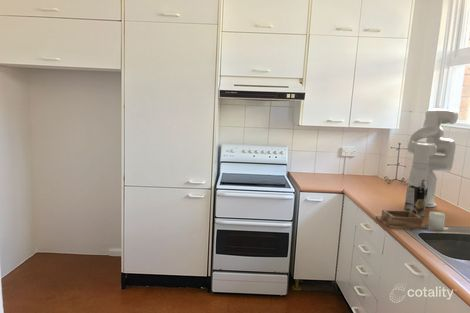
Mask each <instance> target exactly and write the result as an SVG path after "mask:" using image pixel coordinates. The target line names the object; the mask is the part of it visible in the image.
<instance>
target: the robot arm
mask: <svg viewBox="0 0 470 313" xmlns="http://www.w3.org/2000/svg"><path fill="white" fill-rule="evenodd" d="M458 119H459V112H458V111H457V109H446V108H445V109H444V108H442V109H441V108H431V109H430V108H429V109H427V110H426V112H425V119H424V122H423V126H422V127H421V128H419V129H418V130H416V131H415V132H414V133H413V134H412V135H411V136H410V138H409V141H408V144H407V152H408V153H409V154H411V155H412V156H413V157H412V165H411V166H412V167H411V169H410V173H409V177H408V184H409V185H408V186H415V187H419V192H418V199H424V195H425V192H426V190H427V188H428V191H427V198H426V206H425V208H426V207H427V208H435V207H436V206H437V203H436V202H435V195H436V187H437V186H436V185H437V179H438V178H437V174H436V173H435V172H434V171H437V172H443V173H444V172H445V173H446V172H447V173H448V172H450V171H451V170H452V168H453V165H454V158H455V154H456V153H455V152H456V142H455V140H453V139H452V138H443V137H444V131H445V130H444V129H443V128H442V126H441V125H454V124H456V123H457V122H458ZM423 139H426V141H420V140H423ZM421 188H422V189H421Z"/></svg>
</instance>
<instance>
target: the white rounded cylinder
mask: <svg viewBox="0 0 470 313" xmlns="http://www.w3.org/2000/svg"><path fill="white" fill-rule="evenodd" d="M428 212H429V214H428V220H427V227H429V226H430V227H429V228H431V227H432V228H431V229H434V230H444V229H445V221H446V214H445V213H443V212H439V211H428ZM443 228H444V229H443Z"/></svg>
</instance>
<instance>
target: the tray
mask: <svg viewBox="0 0 470 313" xmlns="http://www.w3.org/2000/svg"><path fill="white" fill-rule="evenodd" d="M375 219H377V220H378V221H379V222H380V223H382V224H383V225H384V226H386V227H388V228H389V229H393V230H394V229H395V230H396V229H398V230H429V226H428V225H427V226H426V225H425V224H424V223H423V217H422V216H421V217H420V216H418V215H416V214H414V213H413V212H411V211H404V210H393V209H391V210H390V209H389V210H387V209H383V210H382V211H381V215H376V216H375Z"/></svg>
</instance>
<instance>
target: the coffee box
mask: <svg viewBox="0 0 470 313" xmlns="http://www.w3.org/2000/svg"><path fill="white" fill-rule="evenodd" d="M421 189H422V188H421ZM427 191H428V188H427V190H426V192H425V195H424V199H418V192H419V187H415V186H410V185H408V186H407V187H406V194H405V201H404V210H403V211H411V212H413V213H414V214H416V215H418V216H420V217H421V218H422V217H425V211H426V207H425V206H426V198H427Z"/></svg>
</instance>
